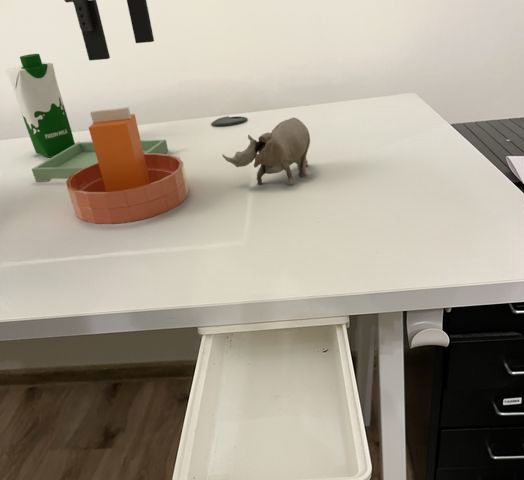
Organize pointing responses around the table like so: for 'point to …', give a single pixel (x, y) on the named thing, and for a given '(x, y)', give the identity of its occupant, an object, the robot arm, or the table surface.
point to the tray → (83, 159)
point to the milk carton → (41, 105)
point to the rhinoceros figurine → (277, 150)
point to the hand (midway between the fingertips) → (123, 50)
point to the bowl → (129, 192)
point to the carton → (118, 149)
